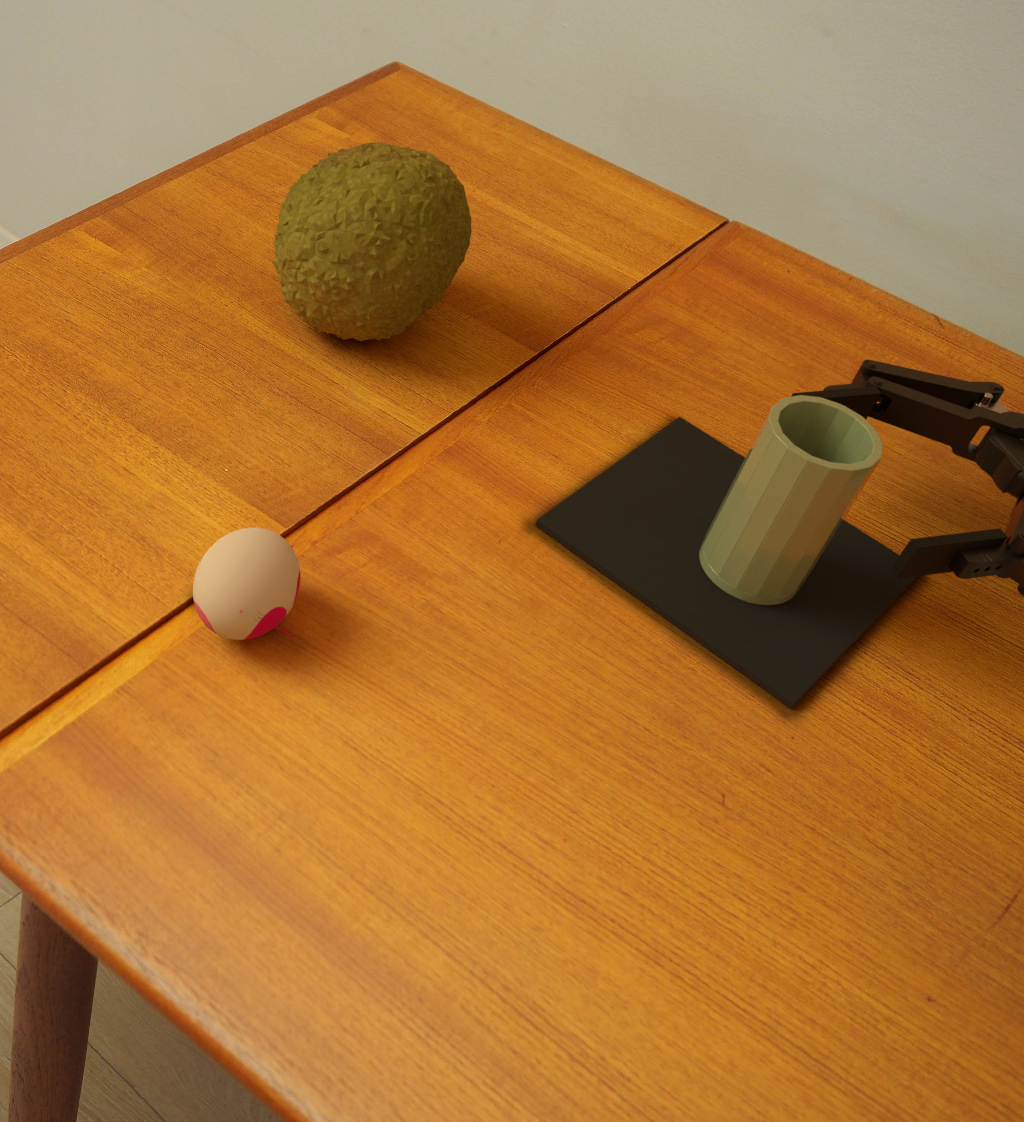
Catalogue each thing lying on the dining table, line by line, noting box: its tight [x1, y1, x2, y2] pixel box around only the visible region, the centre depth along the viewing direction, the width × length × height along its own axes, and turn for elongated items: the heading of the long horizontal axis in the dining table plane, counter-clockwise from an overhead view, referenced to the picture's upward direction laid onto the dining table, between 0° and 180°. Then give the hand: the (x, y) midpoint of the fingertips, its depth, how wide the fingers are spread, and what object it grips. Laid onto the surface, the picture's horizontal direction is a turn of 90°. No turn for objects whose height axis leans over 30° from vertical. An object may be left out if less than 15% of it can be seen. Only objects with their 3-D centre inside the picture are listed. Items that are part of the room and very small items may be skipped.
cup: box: [699, 395, 884, 605], centre depth 81 cm, size 7×7×12 cm
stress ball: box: [192, 526, 302, 642], centre depth 76 cm, size 8×8×7 cm
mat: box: [534, 416, 919, 709], centre depth 87 cm, size 20×18×1 cm
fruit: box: [271, 142, 472, 342], centre depth 96 cm, size 16×14×15 cm
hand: (841, 481), depth 80 cm, fingers open, 13 cm apart
